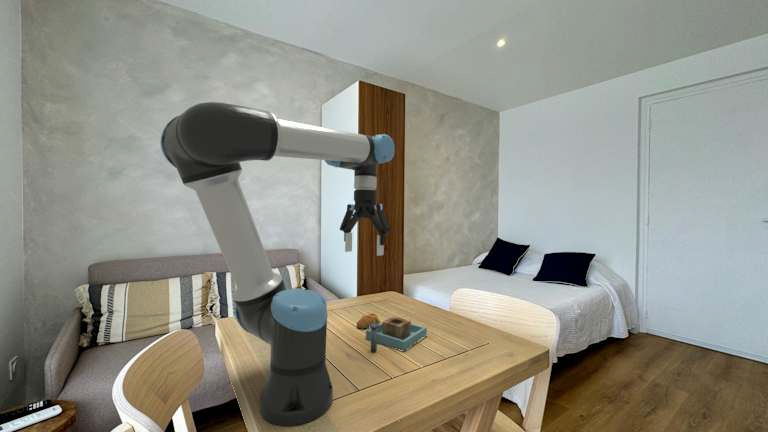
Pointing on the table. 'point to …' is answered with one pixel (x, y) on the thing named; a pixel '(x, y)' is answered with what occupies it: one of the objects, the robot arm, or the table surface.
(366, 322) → the pastry
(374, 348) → the metal bolt
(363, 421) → the table surface
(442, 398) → the table surface
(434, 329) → the table surface
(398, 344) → the tray
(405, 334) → the collar
